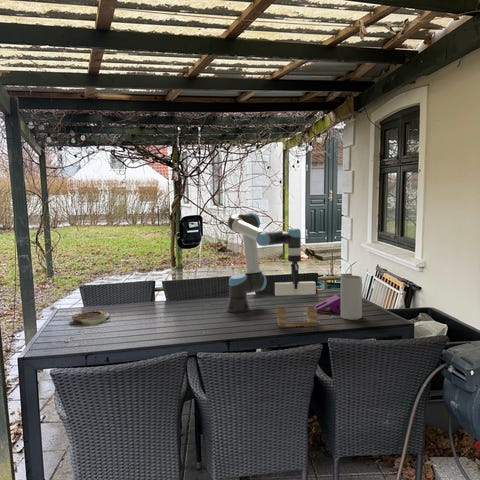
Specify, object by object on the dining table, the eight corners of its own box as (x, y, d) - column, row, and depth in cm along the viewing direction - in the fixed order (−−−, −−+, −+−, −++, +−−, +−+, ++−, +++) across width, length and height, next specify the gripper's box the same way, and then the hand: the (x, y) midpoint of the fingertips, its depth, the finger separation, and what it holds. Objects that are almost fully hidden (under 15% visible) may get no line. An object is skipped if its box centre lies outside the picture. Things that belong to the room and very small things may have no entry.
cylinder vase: (336, 317, 261) (336, 277, 259) (347, 313, 270) (347, 274, 268) (355, 321, 253) (355, 280, 250) (365, 316, 262) (365, 276, 259)
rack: (277, 322, 255) (277, 306, 254) (314, 321, 255) (313, 304, 254) (279, 327, 245) (278, 310, 244) (317, 326, 246) (317, 309, 245)
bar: (275, 294, 257) (274, 282, 257) (319, 292, 258) (319, 281, 257) (275, 295, 253) (275, 284, 253) (320, 294, 254) (320, 282, 253)
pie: (78, 330, 249) (78, 322, 249) (58, 322, 268) (57, 315, 267) (121, 319, 270) (120, 312, 269) (99, 313, 288) (98, 305, 288)
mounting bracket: (320, 322, 273) (345, 309, 273) (314, 310, 272) (339, 298, 272) (317, 318, 282) (341, 305, 282) (311, 307, 281) (336, 294, 281)
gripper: (303, 256, 245) (303, 296, 247) (298, 252, 262) (299, 290, 264) (290, 256, 245) (291, 296, 247) (286, 253, 262) (287, 290, 264)
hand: (295, 293), depth 256 cm, fingers closed on bar, 4 cm apart
